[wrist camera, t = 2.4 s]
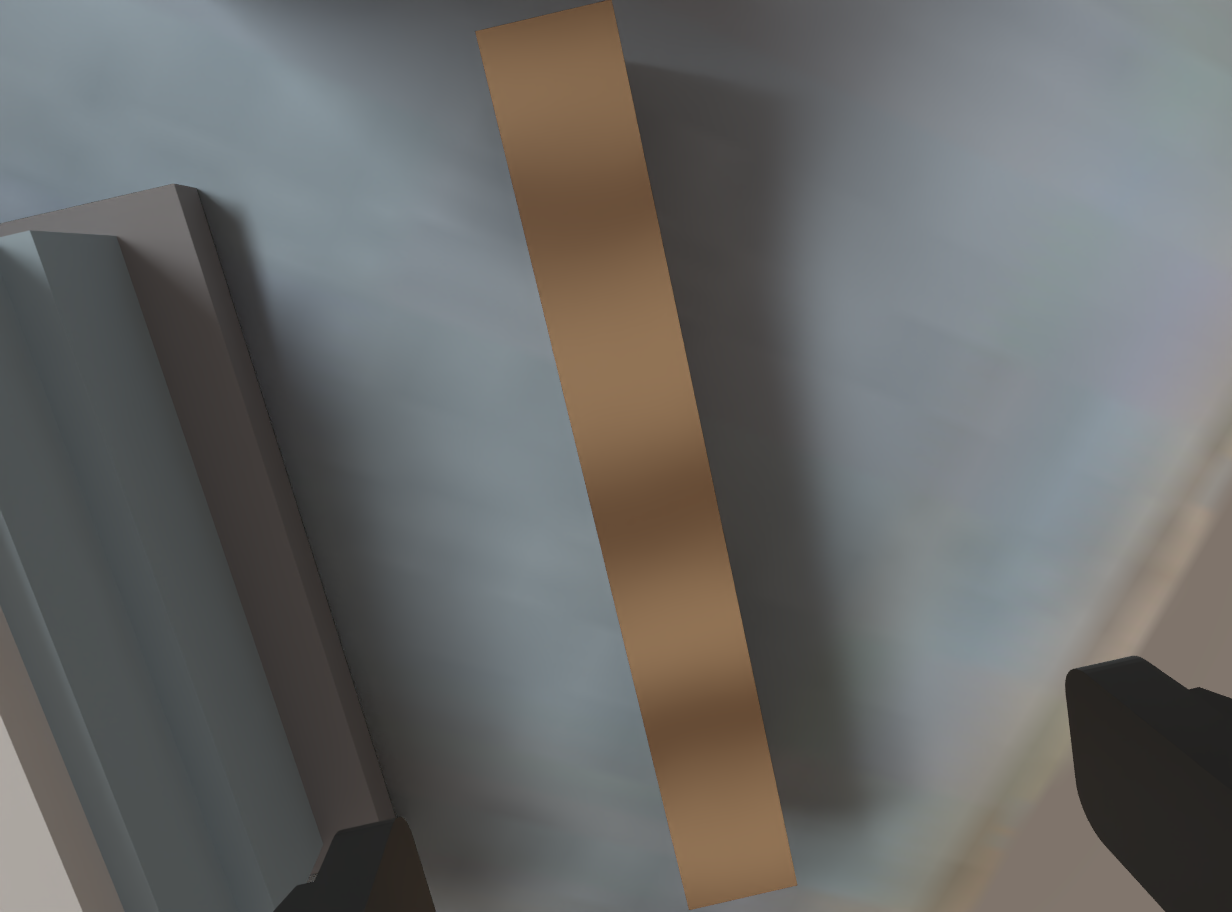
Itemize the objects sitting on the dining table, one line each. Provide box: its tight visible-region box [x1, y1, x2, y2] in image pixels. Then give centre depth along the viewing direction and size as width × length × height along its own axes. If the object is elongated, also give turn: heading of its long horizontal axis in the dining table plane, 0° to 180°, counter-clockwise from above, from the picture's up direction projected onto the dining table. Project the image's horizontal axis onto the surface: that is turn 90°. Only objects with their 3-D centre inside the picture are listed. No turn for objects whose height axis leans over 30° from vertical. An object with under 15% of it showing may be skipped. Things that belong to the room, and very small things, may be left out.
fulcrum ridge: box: [0, 184, 396, 912], centre depth 24 cm, size 22×10×10 cm, turn 13°
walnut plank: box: [475, 0, 797, 910], centre depth 26 cm, size 24×3×6 cm, turn 13°
